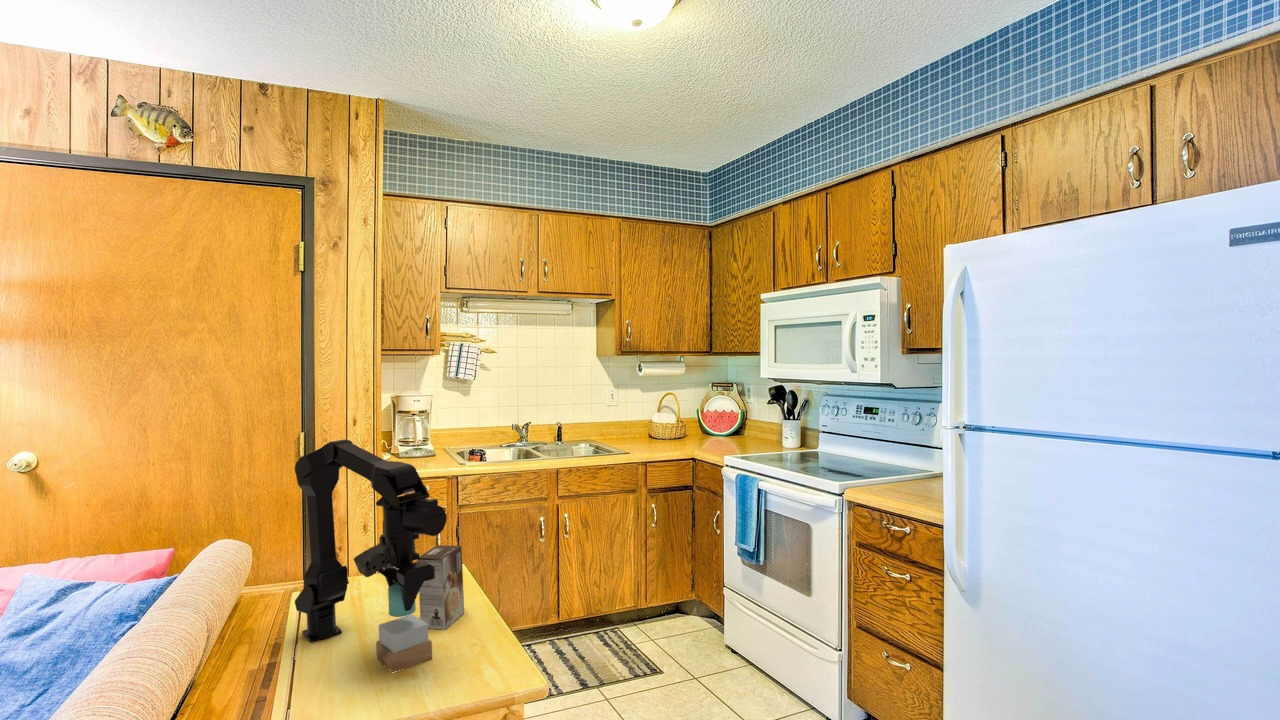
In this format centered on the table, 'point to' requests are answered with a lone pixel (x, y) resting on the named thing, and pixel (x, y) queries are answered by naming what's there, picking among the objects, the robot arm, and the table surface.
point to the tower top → (403, 633)
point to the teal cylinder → (397, 602)
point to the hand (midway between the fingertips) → (402, 606)
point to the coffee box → (442, 587)
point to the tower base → (404, 656)
